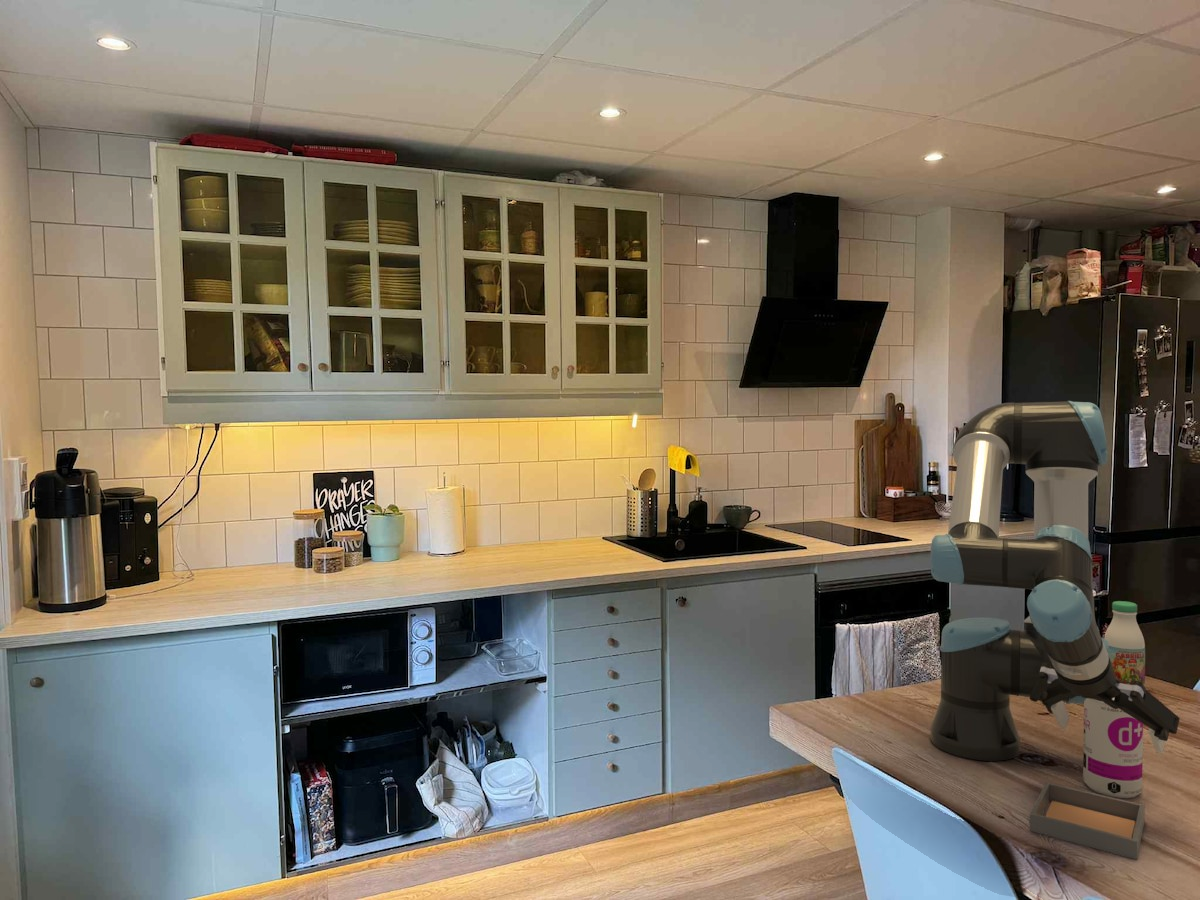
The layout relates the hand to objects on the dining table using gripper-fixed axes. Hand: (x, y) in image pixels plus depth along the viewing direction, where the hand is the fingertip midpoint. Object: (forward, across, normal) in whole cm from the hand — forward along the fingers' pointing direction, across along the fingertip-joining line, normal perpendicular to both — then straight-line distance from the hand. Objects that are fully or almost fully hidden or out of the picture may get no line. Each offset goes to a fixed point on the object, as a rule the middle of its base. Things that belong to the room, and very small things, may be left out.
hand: (1111, 733), depth 131 cm
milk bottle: (+47, -13, +33) cm, 58 cm away
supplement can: (+9, 0, -6) cm, 10 cm away
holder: (-3, +1, -17) cm, 17 cm away
